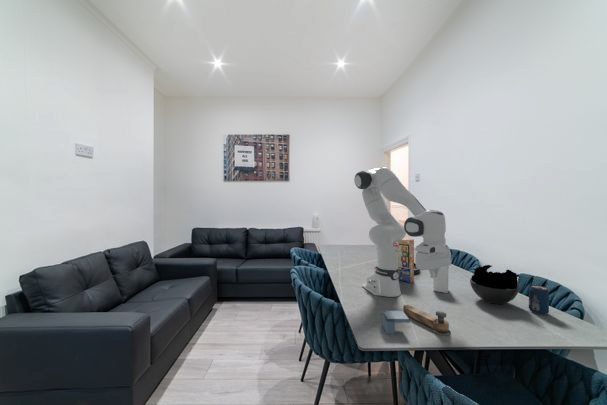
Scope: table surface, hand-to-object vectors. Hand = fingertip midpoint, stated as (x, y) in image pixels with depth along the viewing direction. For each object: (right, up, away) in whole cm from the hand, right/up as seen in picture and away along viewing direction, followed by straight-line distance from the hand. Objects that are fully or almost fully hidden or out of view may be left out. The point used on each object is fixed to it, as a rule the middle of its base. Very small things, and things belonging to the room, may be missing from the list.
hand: (434, 277), depth 112 cm
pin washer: (-3, -19, -11) cm, 21 cm away
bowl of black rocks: (+39, -18, +17) cm, 47 cm away
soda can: (+52, -18, +6) cm, 55 cm away
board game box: (+4, -17, +55) cm, 58 cm away
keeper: (-21, -19, -10) cm, 30 cm away
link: (-6, -18, -4) cm, 19 cm away
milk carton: (+21, -18, +34) cm, 44 cm away
